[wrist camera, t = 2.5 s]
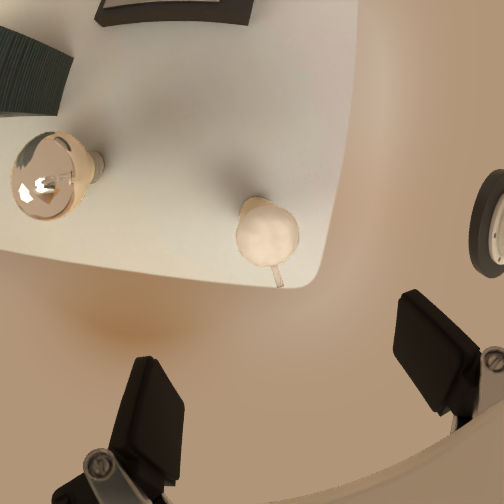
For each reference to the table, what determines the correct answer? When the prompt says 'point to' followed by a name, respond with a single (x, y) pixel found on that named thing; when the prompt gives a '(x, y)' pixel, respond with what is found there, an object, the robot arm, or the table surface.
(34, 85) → the cassette player
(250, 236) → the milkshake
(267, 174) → the table surface
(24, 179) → the light bulb
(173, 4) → the scale
